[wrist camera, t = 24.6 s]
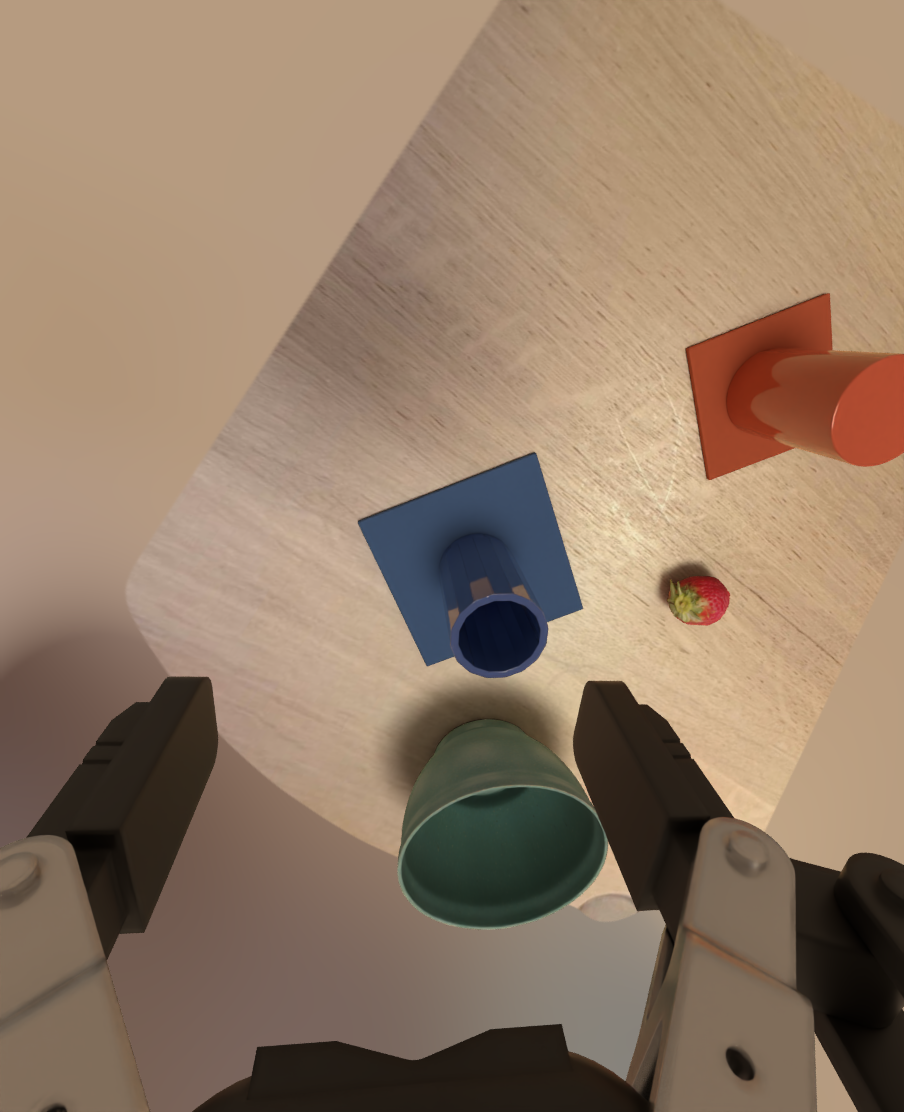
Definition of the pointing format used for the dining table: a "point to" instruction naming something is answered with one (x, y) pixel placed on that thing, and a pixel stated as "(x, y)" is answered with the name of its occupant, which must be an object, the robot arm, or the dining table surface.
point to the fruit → (698, 600)
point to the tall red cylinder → (823, 402)
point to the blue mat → (462, 509)
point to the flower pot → (497, 831)
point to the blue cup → (490, 608)
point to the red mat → (722, 360)
